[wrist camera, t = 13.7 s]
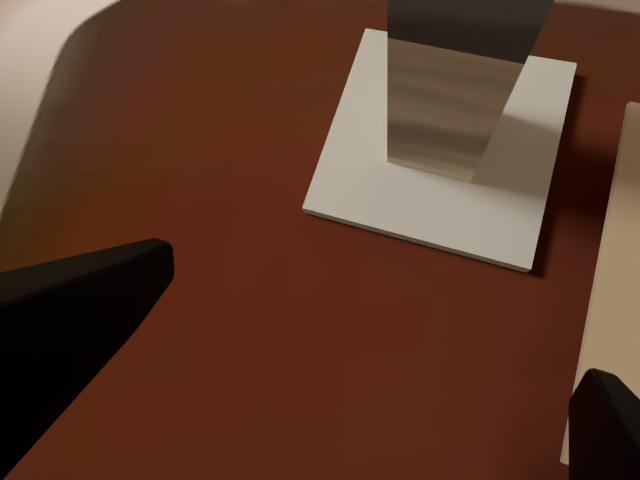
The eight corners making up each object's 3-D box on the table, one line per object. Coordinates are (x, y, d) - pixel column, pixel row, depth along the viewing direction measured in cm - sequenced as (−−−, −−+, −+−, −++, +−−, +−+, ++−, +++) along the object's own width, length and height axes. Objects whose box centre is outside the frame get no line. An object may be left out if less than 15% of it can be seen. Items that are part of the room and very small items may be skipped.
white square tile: (525, 272, 22) (531, 269, 21) (304, 212, 24) (302, 208, 24) (570, 72, 24) (576, 63, 24) (366, 37, 27) (365, 28, 26)
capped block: (469, 183, 23) (560, -15, 11) (387, 161, 24) (387, -41, 12) (491, 109, 24) (598, -147, 12) (411, 92, 25) (434, -160, 13)
